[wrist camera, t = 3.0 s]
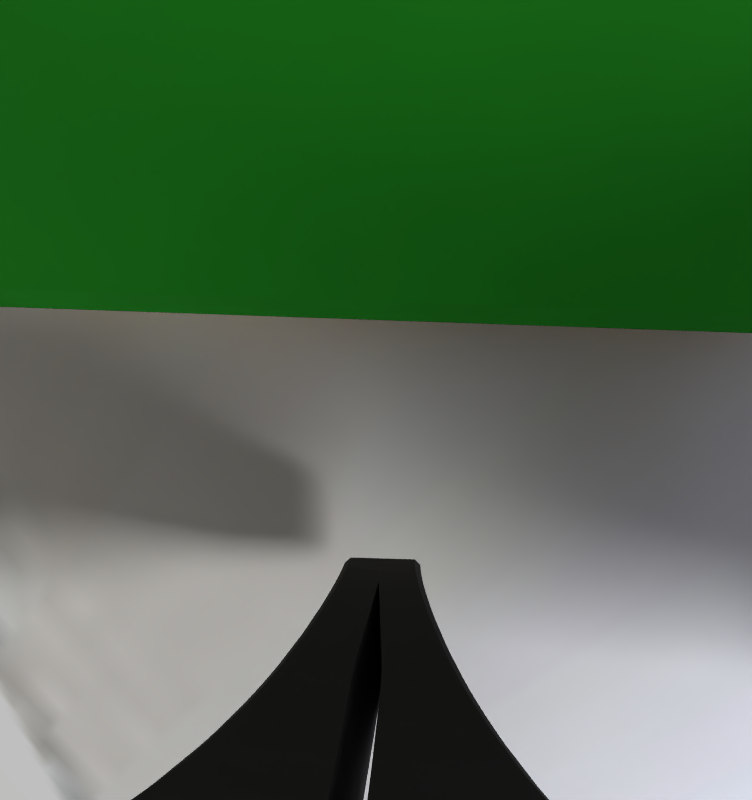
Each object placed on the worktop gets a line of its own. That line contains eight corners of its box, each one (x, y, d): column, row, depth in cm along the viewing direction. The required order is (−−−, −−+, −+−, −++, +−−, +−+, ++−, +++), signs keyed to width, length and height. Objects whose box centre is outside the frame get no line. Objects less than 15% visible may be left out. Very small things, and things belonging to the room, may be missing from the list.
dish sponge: (-31, -163, 10) (-157, -241, 8) (868, -175, 10) (999, -263, 7) (49, 276, 13) (-27, 308, 11) (750, 299, 12) (821, 337, 10)
